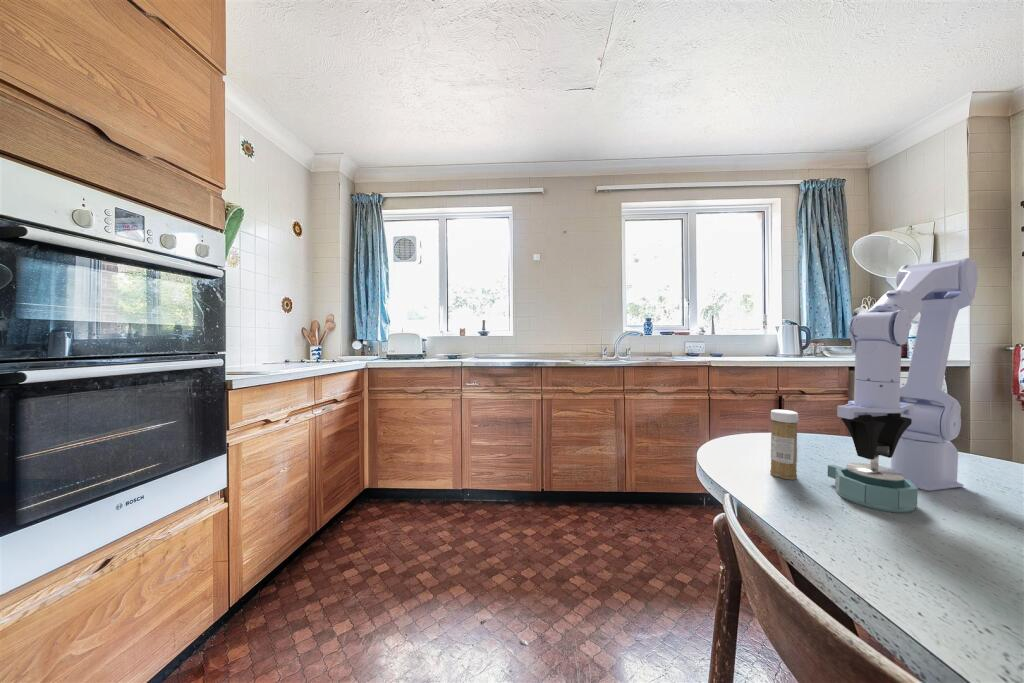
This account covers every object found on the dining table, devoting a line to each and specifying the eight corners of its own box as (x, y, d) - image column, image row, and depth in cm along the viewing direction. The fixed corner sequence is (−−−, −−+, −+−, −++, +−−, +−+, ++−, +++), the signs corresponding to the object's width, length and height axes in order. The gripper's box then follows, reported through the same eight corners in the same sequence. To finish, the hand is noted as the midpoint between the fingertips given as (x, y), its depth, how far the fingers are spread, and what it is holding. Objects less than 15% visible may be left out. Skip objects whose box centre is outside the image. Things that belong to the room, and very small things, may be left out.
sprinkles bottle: (800, 477, 76) (802, 411, 75) (791, 482, 73) (792, 414, 73) (775, 470, 79) (776, 407, 79) (765, 474, 77) (766, 410, 76)
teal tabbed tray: (850, 480, 74) (850, 461, 74) (931, 509, 62) (932, 487, 62) (809, 484, 72) (810, 465, 72) (885, 515, 60) (885, 492, 60)
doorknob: (866, 464, 70) (867, 436, 70) (915, 479, 63) (916, 448, 63) (836, 467, 68) (837, 439, 68) (882, 483, 61) (883, 451, 61)
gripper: (881, 376, 70) (879, 446, 71) (820, 378, 67) (818, 452, 68) (930, 381, 64) (927, 459, 64) (864, 384, 61) (862, 466, 61)
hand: (874, 456), depth 65 cm, fingers closed on doorknob, 4 cm apart
